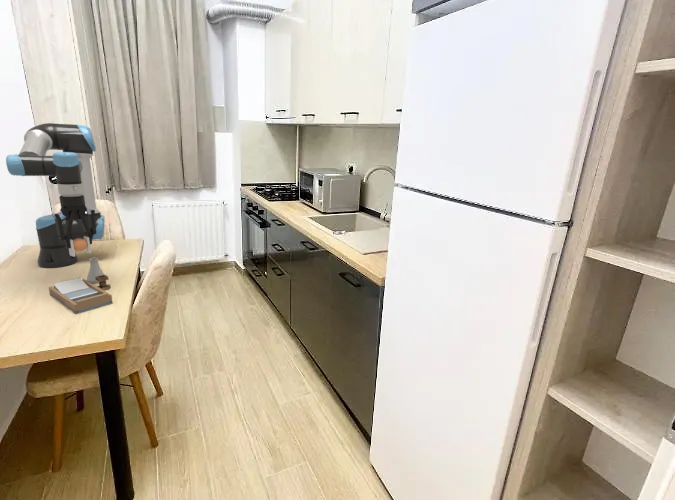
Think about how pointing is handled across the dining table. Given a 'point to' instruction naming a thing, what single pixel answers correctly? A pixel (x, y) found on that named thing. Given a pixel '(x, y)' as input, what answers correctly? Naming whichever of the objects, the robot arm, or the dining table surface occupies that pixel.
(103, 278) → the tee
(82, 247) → the ball
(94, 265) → the flask
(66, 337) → the dining table surface
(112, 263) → the dining table surface
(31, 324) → the dining table surface
